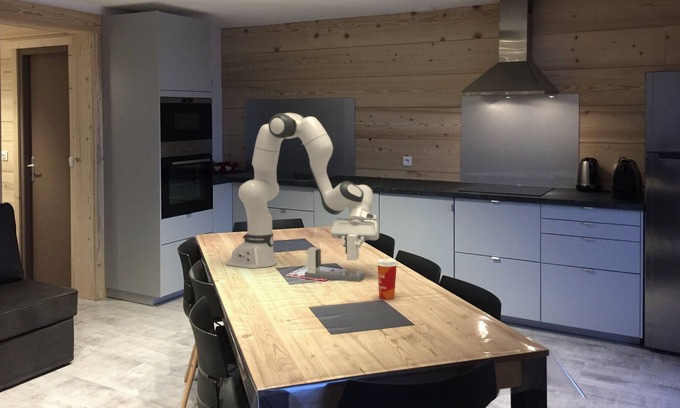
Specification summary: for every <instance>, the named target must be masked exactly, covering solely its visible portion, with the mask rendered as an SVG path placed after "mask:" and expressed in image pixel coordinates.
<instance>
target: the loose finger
mask: <svg viewBox="0 0 680 408" xmlns="http://www.w3.org/2000/svg"><path fill="white" fill-rule="evenodd" d="M359 241H360V239H359V236H358V235H354V234H349V235H348V236H346V237H345V247H344V248H345V255H346V261H356V260H358V259H359V258H360V257H359V254H360V253H359V249H360V248H357V247H356V244H357V242H359Z"/></svg>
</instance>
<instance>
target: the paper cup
mask: <svg viewBox="0 0 680 408" xmlns="http://www.w3.org/2000/svg"><path fill="white" fill-rule="evenodd" d="M397 262H398V261H397V260H396V259H394V258H382V259H378V260H377V262H376V265H377V282H378V283H377V285H378V297H379V299H380V300H387V301H388V300H393V299H394V298H395V293H396V282H397V281H396V280H397V279H396V278H397V267H398V263H397Z"/></svg>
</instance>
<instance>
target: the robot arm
mask: <svg viewBox="0 0 680 408" xmlns="http://www.w3.org/2000/svg"><path fill="white" fill-rule="evenodd" d="M297 138H299V139H300V140H301V142H302V143H303V146H304V147H305V150H306V152H307V154H308V159H309V168H310V172H311V174H312V175H311V176H312V177H313V179H314V182H315V185H316V187H317V189H318V192H319V195H320V200H321V205H322V207H323V209H324V210H325V211H326V212H327V213H329V214H331V215H339V214H340V213H341V212H343V211H344V210H345V209H347V208H348V209H349V211H348V215H347V217H346V218H337V219H335V220H333V222H332V226H331V229H330V231H329V232H330V235H331V237H332V238H333V239H342V247H343V248H345V237H346V236H348V235H349V234H354V235H358V236H359V242H357V244H356V247H357V248H359V249H360V248H361V247H362V245H363V244H364V243H365V241H377V240H378V239H379V237H380V228H379V226H380V222H379V219H378V217H377V215H376V214H373V213H370V211H371V209H372V206H373V202H374V201H373V200H374V193H373V190H372V188H371V187H369V186H368V185H366V184H359V185H358V184H355V183H354V182H351V181H349V180H344V181H342V182H340V183H339V184H338V185H337V186H335V187H334V188H333V187H332V186H333V185H332V183H331V181H330V179H329V175H328V172H327V169H328V168H327V167H328V165H329V164H328V163H329V161H330V158H331V157H332V155H333V151H334V146H333V143H332V140H331V138H330V136H329V135H328V132H327V131H326V129H325V128H324V126H323V124H321V123H320V121H319V120H318V119H317V118H316V117H314V116H306V117H304V115H302V114H300V113H294V112H286V113H285V112H284V113H283V112H281V113H276V114H275V115H273V116H272V117H271V118H270V119H269V121H268V123H265V124H263V125H261V127H260V129H259V131H258V134H257V136H256V140H255V144H254V150H253V155H252V162H251V165H252V167H253V172H254V178H253V179H249V180H247V181H245V182H243V183H242V184H241V185H240V186H239V189H238V193H237V195H238V198H239V200H240V201H241V202H242V204H243V207H244V209H245V214H246V221H247V233H246V234H244V235H242V239H243V240H244V241H243V242H241V243H240V244H239V245H238V246H237V247H236V248H234V249H233V250H232V253H231V257H230V258H231V259H229V260H227V261H226V263H225V264H226V266H231V267H239V268H245V269H256V268H257V269H258V268H267V267H272V266H275V265H276V264H277V262H276V261H277V260H276V258H275V254H274V243H275V242H274V240H275V239H274V233H273V217H272V213H270V210H269V207H268V203H267V202H271V201H272V200H274V199H275V198H276V197H277V196H278V195H279V192H280V185H279V183H278V180H277V167H278V162H279V161H278V160H279V156H280V149H281V145H282V142H283V140H284V139H286V140H287V139H288V140H289V139H297Z"/></svg>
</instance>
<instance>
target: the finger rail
mask: <svg viewBox="0 0 680 408" xmlns="http://www.w3.org/2000/svg"><path fill="white" fill-rule="evenodd" d="M306 251H307V252H306V253H307V270H306V271H305V272H304V278H306V277H311V278H310V279H319V278H323V279H322V280H334V281H347V282H348V281H349V282H362V281H363V280H364V273H363V269H362V268H360V269H358V270H357V271H356V273H353V272H349V267H346V268H345V269H343V270H342V272H339V271H327V270H326V271H324V270H320V267H321V266H322V253H321V252H322V249H321V248H320V247H316V246H315V247H314V246H311V247H309V248H308V249H307V250H306Z"/></svg>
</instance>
